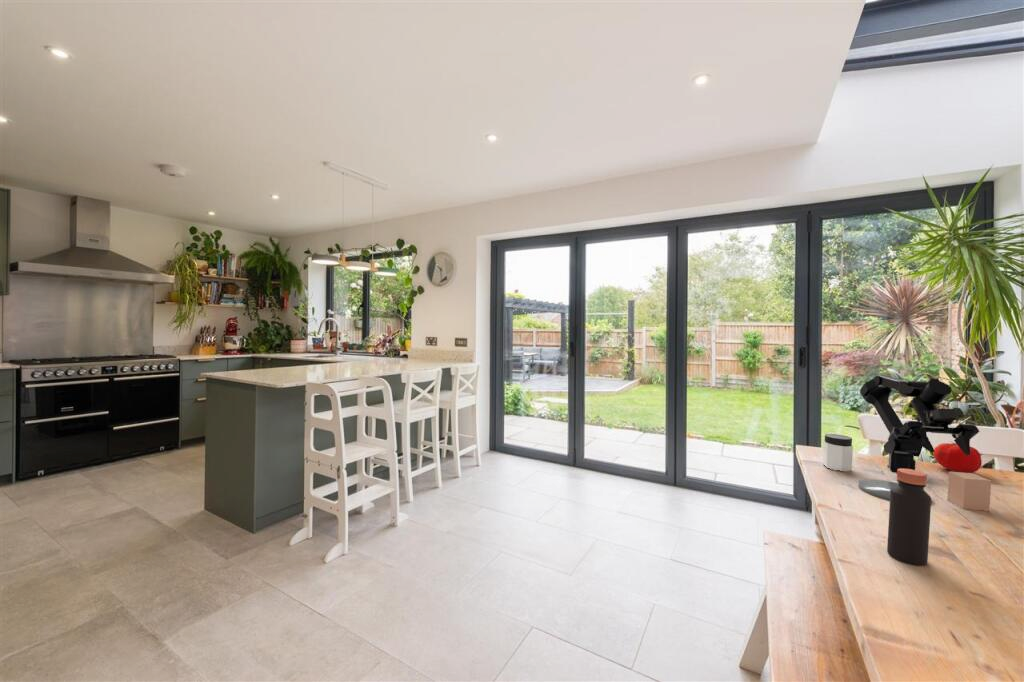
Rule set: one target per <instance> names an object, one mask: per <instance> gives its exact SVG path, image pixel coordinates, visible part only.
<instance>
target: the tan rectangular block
mask: <svg viewBox="0 0 1024 682" xmlns="http://www.w3.org/2000/svg"><path fill="white" fill-rule="evenodd" d="M947 478H948V479H947V482H948V483H947V496H946V500H947V501H948V502H950V503H951V502H952V503H951V504H953V503H954V504H953V505H955V504H956V505H955V506H957V507H959V508H961V509H965V510H973V511H981V510H984V512H990V508H991V507H990V506H991V494H992V493H991V491H992V490H991V489H992V480H990V479H988V478H985V477H984V476H981V475H978V474H975V472H973V473H962V472H955V471H951V470H949V471H948V477H947Z"/></svg>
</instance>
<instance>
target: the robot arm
mask: <svg viewBox="0 0 1024 682" xmlns="http://www.w3.org/2000/svg"><path fill="white" fill-rule="evenodd" d="M893 390H896V391H898V394H900V395H901V396H903V397H906V398H912V399H911V400H910V402H909V403H908V408H909V409H913V410H914V411H915V413H916V416H917V417H916V420H906V421H905V422H903V421H901V419H900V417H899V416H898V414H897V413H896V411H895V410H894V408H893V407H892V405H891V403H890V401H889V398H890V396H891V395H890V394H891V393H892V392H893ZM952 390H953V389H952V387H951V385H948V384H947V383H945V382H943V381H940V380H939V379H938V378H930V379H929V380H928V382H927V381H923V380H921V381H920V380H905V379H902V378H898V377H894V376H892V375H886V374H878V375H875V376H874V377H873V378H872V379H870V380H868V381H866V382H865V383H863V385H862V386H861V388H860V390H859V393H860V395H861V397H862V398H863V399H864V401H865V402H866V403H868V404H870V405H872V406H873V407H874V408H875V409H874V410H876V412H877V414H878V416H879V417H880V419H881V421H882V422H883V424H884V426H885V428H886V429H887V431H888V433H889V436H888V437H887V441H886V443H884V445H883V452H885V453H886V454H888V464H887V465H886V467H887V466H888V467H889V468H890V469H889V468H888V467H887V468H888V469H889V471H891V470H892V471H891V472H895V471H897V469H900V468H904V469H912V470H916V460H915V459H914V457H918V458H919V457H920V455H921V452H922V450H923V448H924V449H926V451H928V452H929V453H931V454H933V452H934V449H935V448H934V447H933V444H932V443H931V441H930V439H929V437H928V435H927V433H932V434H945V435H951V437H952V438H953V439H954V440H953V441H954V443H956V444H957V445H958V446H959V447H960V449H961V450H962V451H963V452H964V453H965V454H966V455H967V456H969V455H970V447H971V446H970V444H971V443H970V442H971V439H972V438H974V437H975V436H976V435H977V434H978V433H979V432H980V430H979V428H978V427H977V425H975V424H969V423H959V424H957V425H956V426H955V427H949V426H951V425H952V424H953V421H955V420H956V421H957V420H960V419H962V418H965V413H964V411H963V410H962V408H961V407H953V408H939V407H938V406H937V405H939V404H941V403H942V402H944V401H945V399H947V397H949V395H950V394H951V393H952Z"/></svg>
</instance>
